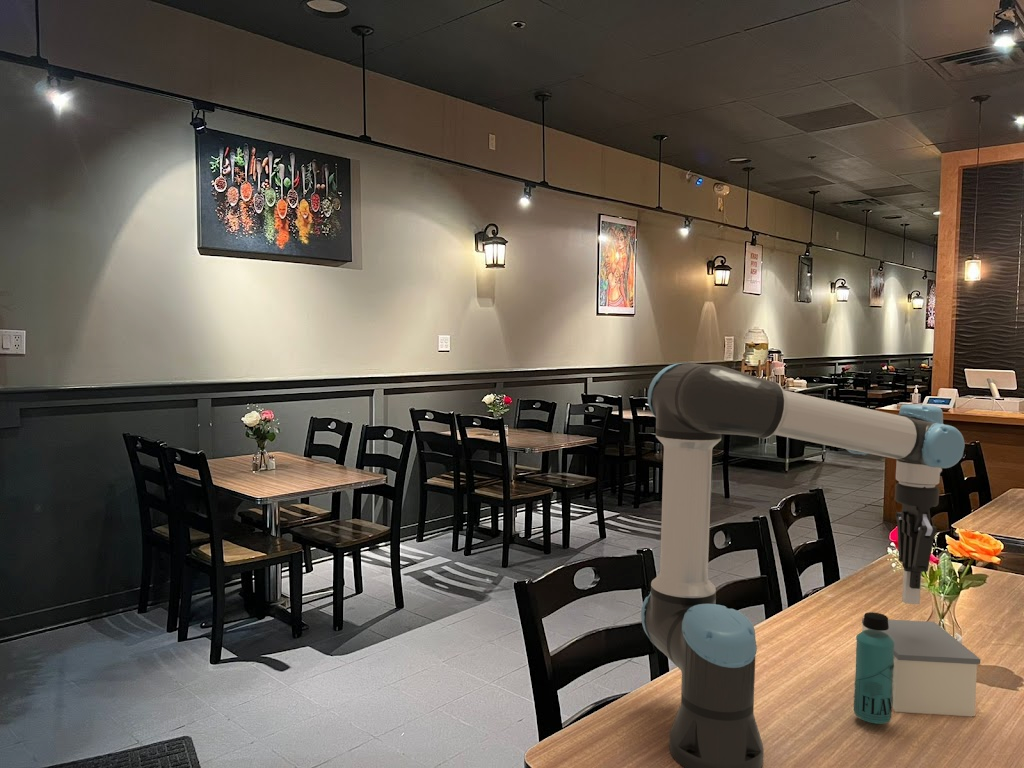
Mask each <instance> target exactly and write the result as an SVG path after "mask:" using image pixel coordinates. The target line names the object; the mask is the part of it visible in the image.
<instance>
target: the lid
mask: <svg viewBox="0 0 1024 768" xmlns="http://www.w3.org/2000/svg"><path fill="white" fill-rule="evenodd" d="M863 621H864V617H862V618H861V623H862V624H863ZM888 625H889V629H888V630H884V631H882V632H884V633H886V634H888V635H889V636H890V637H891V638H892V640H893V641H894V656H895V657H896V658H897V659H898V660H908V661H927V662H945V663H963V664H977V665H981V660H982V659H981V658H980V657H978V656H977V655H976V654H975V653H974V652H972V651H971V650H970V649H969V648H968V647H966V646H965V645H963V643H962V644H961V643H960V642H959V641H957V640H956V639H955V638H954V637H953V636H951V635H950V634H949V633H948V632H946V631H945V630H944V628H943V627H941V626H940V625H939V624H937V622H935V621H931V620H930V621H928V620H927V621H925V620H906V619H905V620H904V619H889V618H888ZM868 629H869V628H868ZM869 630H873V629H869ZM878 631H879V630H878Z"/></svg>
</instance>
